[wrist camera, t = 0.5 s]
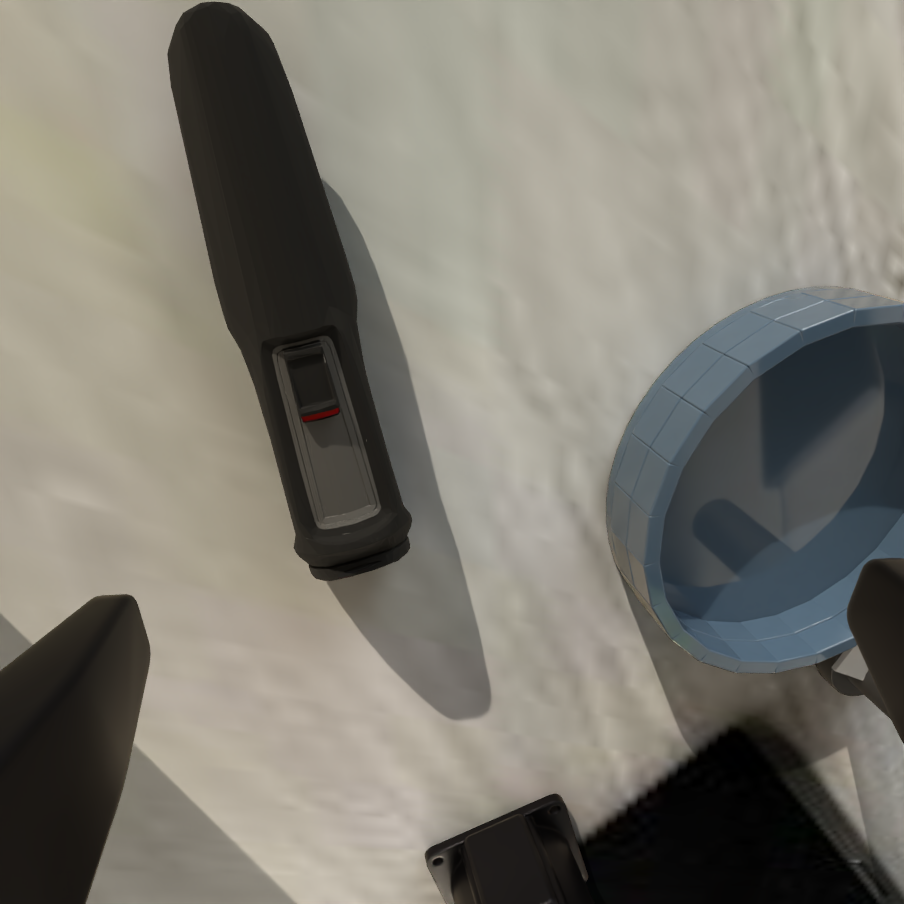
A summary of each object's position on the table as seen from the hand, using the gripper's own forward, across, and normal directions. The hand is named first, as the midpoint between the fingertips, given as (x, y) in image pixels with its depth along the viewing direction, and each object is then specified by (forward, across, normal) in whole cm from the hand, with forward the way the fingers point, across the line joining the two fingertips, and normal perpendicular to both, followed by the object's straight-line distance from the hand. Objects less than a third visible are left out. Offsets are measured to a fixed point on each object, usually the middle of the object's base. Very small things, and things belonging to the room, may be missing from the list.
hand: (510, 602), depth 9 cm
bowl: (+15, -13, +8) cm, 22 cm away
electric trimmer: (+13, +4, +2) cm, 14 cm away
